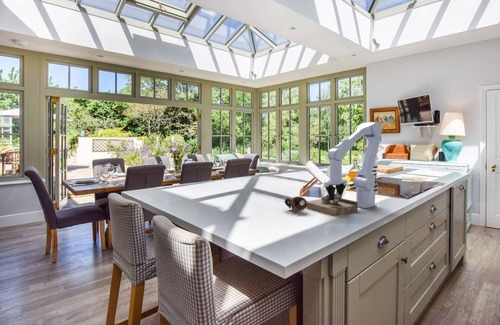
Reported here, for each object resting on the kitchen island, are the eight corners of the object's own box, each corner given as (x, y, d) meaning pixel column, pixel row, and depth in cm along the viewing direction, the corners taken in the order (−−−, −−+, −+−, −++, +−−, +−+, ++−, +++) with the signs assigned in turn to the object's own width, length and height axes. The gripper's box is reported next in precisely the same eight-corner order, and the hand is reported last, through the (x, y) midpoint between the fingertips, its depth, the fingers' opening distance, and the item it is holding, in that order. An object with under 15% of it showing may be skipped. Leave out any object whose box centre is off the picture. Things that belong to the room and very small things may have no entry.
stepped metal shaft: (335, 204, 151) (336, 191, 150) (343, 206, 146) (343, 193, 145) (328, 205, 148) (328, 192, 148) (335, 208, 144) (335, 194, 143)
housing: (327, 202, 163) (327, 195, 162) (357, 210, 146) (357, 201, 145) (305, 207, 154) (305, 199, 154) (335, 215, 137) (335, 206, 137)
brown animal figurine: (308, 209, 152) (310, 197, 147) (302, 221, 145) (304, 210, 140) (286, 202, 156) (287, 190, 151) (280, 213, 149) (281, 202, 144)
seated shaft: (326, 206, 156) (326, 193, 155) (333, 208, 152) (333, 194, 151) (319, 207, 153) (319, 194, 153) (326, 209, 149) (326, 196, 148)
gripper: (339, 170, 153) (339, 196, 154) (319, 173, 145) (319, 199, 147) (350, 171, 147) (350, 198, 148) (330, 174, 139) (330, 202, 141)
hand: (335, 199), depth 147 cm, fingers closed on stepped metal shaft, 5 cm apart
